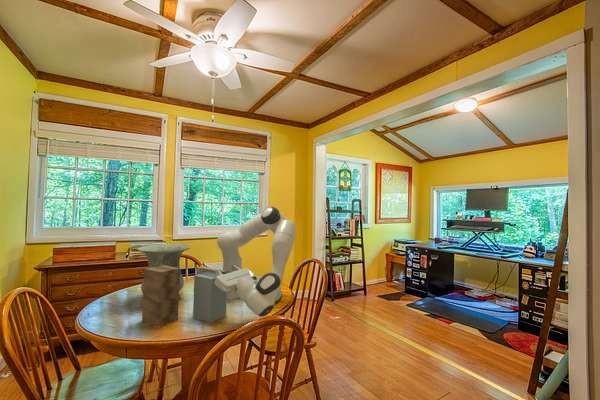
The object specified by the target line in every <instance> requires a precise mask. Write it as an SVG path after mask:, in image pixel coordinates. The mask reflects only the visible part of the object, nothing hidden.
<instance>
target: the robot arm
mask: <svg viewBox="0 0 600 400" xmlns="http://www.w3.org/2000/svg"><path fill="white" fill-rule="evenodd" d="M267 231H271V232H272V233H273V234H274V235H273V237H272V241H271V242H272V243H271V253H272V255H271V256H272V267H271V268H272V269H271V272H267V273H265V274H264V275H262V277H260V278H259V276H257V275H256V274H255V273H254V272H253V271H252V270H250V268H247V267H245V268H243V262H242V261H243V258H242V257H241V255H240V250H239V249H240V248H242V247H244V246H245V245H246V244H248V243H250V242H251V241H252V240H254V239H256V238H257V237H259V236H261V235H262V234H264V233H265V232H267ZM296 235H297V226H296V223H295V222H293V221H292V220H290V219H288V218H287V217H286V216H285V215H284V214H283V213H282V212H281V211H280V210H279V209H278V208H276V207H275V206H268V207H266V208H265V209H264V210H262V212H261V213H258V214H257V215H255V216H253V217H252V218H250V219H248V220H247V221H245V222H244V223H242V225H240V226H239V227H238V228H236V229H234V230H230V231H224V232H223V233H221V234H220V235H218V237H217V239H216V244H217V247H218V248H219V249H220V251H221V255H222V269H220V268H216V269H217V270H216V273H217V274H218V276H217V277H216V279H215V285H216V286H217V287H218V288H220V289H221V290H222V291H224V292H227V300H232V299H233V300H235V299H240V301H243V303H244V304H245V305H246V306H247V308H249V310H250V311H251V312H253V313H254V314H255V315H257V317H261V318H262V317H265V316H267V315H269V314H270V313H271V312H272V311H273V310H274V308H275V306H276V305H278V304H279V303H280V302H281V301H282V299H283V292H282V284H283V283H282V282H283V277H284V274H285V269H286V265H287V263H288V260H289V258H290V255H291V252H292V251H293V247H294V245H295V240H296ZM221 270H225V271H230V272H231V273H227V274H221Z"/></svg>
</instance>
